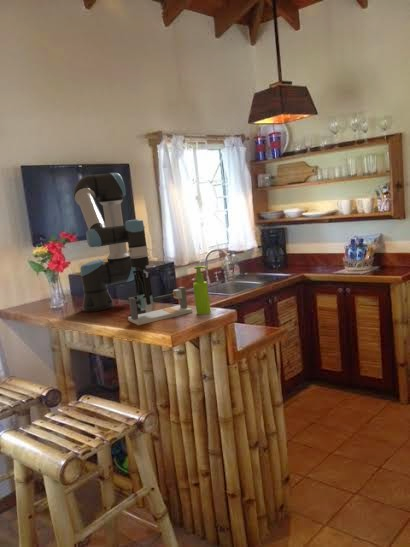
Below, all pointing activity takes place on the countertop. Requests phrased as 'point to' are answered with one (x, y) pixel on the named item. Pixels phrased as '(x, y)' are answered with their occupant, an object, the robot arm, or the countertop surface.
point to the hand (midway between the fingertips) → (146, 310)
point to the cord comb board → (161, 313)
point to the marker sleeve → (142, 304)
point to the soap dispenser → (201, 292)
